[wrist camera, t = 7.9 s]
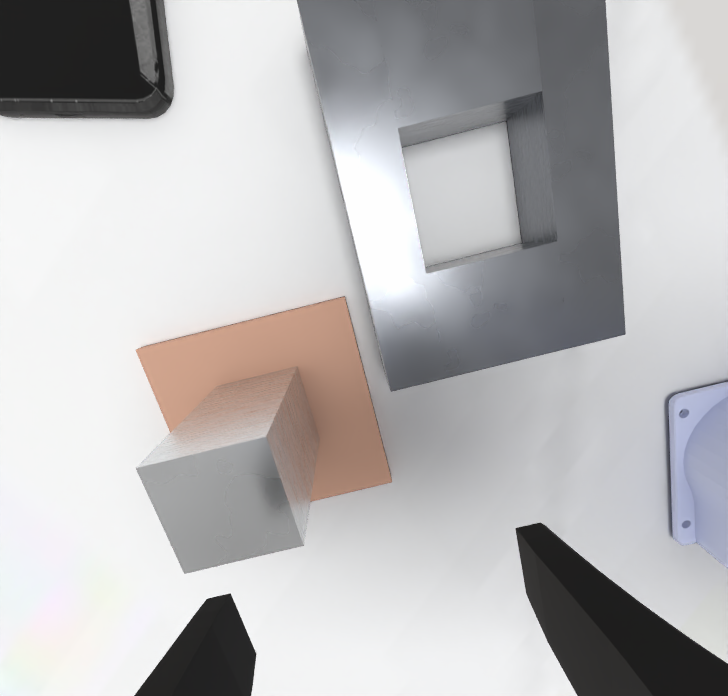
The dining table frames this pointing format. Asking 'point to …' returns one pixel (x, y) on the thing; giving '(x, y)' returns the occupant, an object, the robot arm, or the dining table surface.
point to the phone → (84, 59)
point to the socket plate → (529, 161)
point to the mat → (277, 352)
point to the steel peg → (236, 472)
